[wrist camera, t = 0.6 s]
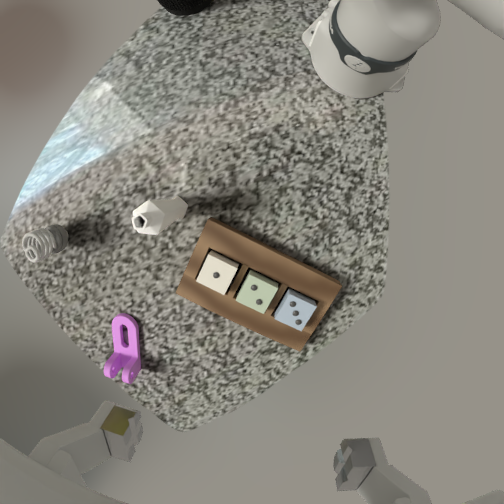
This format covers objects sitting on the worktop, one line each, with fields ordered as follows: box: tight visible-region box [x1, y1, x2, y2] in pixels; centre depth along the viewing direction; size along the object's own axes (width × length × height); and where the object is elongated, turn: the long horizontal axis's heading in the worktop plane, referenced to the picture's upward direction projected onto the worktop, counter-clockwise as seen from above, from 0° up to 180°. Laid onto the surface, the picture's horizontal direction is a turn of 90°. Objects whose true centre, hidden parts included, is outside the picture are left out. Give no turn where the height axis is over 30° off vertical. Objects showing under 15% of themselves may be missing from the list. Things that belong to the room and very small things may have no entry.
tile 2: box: [236, 270, 278, 314], centre depth 49 cm, size 5×5×3 cm
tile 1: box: [196, 250, 239, 295], centre depth 48 cm, size 5×5×3 cm
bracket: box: [104, 313, 141, 384], centre depth 54 cm, size 13×6×7 cm, turn 173°
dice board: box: [176, 217, 342, 351], centre depth 50 cm, size 14×24×2 cm, turn 64°
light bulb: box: [22, 225, 68, 262], centre depth 46 cm, size 6×6×12 cm
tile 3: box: [275, 288, 317, 331], centre depth 49 cm, size 5×5×3 cm
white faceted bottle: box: [132, 196, 188, 235], centre depth 42 cm, size 5×4×15 cm
